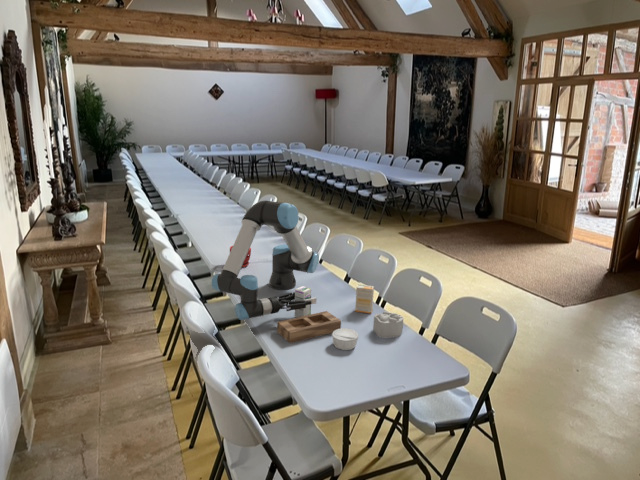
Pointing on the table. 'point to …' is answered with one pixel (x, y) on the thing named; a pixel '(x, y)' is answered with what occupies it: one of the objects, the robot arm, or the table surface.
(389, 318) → the lumpy-topped squat cylinder
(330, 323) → the wooden divided tray
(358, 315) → the table surface
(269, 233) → the table surface
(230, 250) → the plant pot
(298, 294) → the syrup box
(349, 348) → the ramekin
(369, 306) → the supplement box
